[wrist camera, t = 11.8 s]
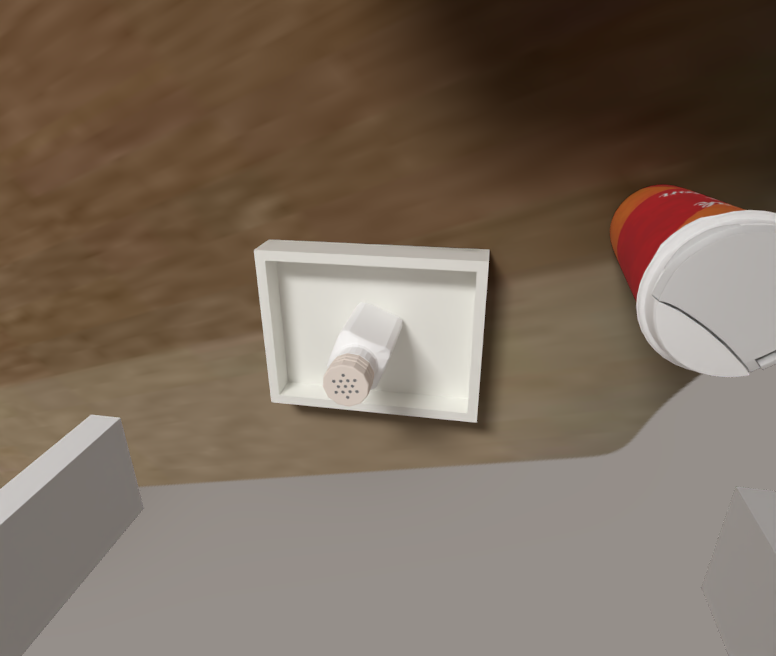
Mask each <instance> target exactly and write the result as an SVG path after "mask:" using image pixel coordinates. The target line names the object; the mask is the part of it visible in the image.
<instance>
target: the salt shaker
mask: <svg viewBox="0 0 776 656" xmlns="http://www.w3.org/2000/svg"><path fill="white" fill-rule="evenodd" d="M401 328H402V319H400V318H399V317H398V316H396V315H393V314H391V313H389V312H386V311H384V310H382V309H380V308H377V307H375V306H373V305H371V304H368V303H365V302H360V303H359V304H358V305H357V306H356V308H355V309H354V311H353V313H352V314H351V316H350V317H349V319H348V321H347V322H346V324H345V325H344V327H343V328H342V330H341V332H340V333H339V335H338V338H337V340H336V343H335V345H334V347H333V350H332V353H331V355H330V358H329V361H328V363H327V368H328V369H327V371H326V373H325V374H324V377H323V388H324V390H325V392H326V394H327V396H328V397H329V398H330V399H332V400H333V401H334V402H336V403H337V404H339V405H344V406H349V407H350V406H353V405H357V404H361V403H362V402H363V400H364V399H365V398H366V397H367V396H368V394H369V392H370V390H373V389H374V388H376V387H377V385H378V383H379V381H380V379H381V377H382V374H383V372H384V370H385V368H386V366H387V363H388V361H389V359H390V357H391V354H392V351H393V349H394V346H395V344H396V341H397V339H398V336H399V333H400V331H401Z"/></svg>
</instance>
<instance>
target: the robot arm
mask: <svg viewBox="0 0 776 656" xmlns="http://www.w3.org/2000/svg"><path fill="white" fill-rule="evenodd" d="M143 509H144V508H143V503H142V500H141V496H140V492H139V488H138V484H137V480H136V476H135V473H134V469H133V465H132V461H131V457H130V453H129V449H128V446H127V442H126V438H125V434H124V430H123V426H122V422H121V419H120V418H116V417H107V416H98V415H90V416H89V417H88V418H87V419H85V420H84V421H83V422H82V423H80V424H79V425H78V426H77V427H76V428H74V429H73V430H72V431H71V432H69V433H68V434H67V435H66V436H65V437H63V438H62V439H61V440H60V441H58V442H57V443H56V444H55V445H54V446H52V447H51V448H50V449H49V450H47V451H46V452H45V453H44V454H43V455H41V456H40V457H39V458H38V459H36V460H35V461H34V462H33V463H32V464H30V465H29V466H28V467H27V468H25V469H24V470H23V471H22V472H21V473H19V474H18V475H17V476H16V477H14V478H13V479H12V480H11V481H10V482H8V483H7V484H6V485H5V486H3V487H2V488H1V489H0V656H22V654H24V652H25V651H26V650H27V649H28V647H29V646H30V645H31V644H32V643H33V641H34V640H35V639H36V638H37V637H38V635H39V634H40V633H41V632H42V631H43V629H44V628H45V627H46V626H47V625H48V623H49V622H50V621H51V620H52V619H53V617H54V616H55V615H56V614H57V612H58V611H59V610H60V609H61V608H62V607H63V605H64V604H65V603H66V602H67V600H68V599H69V598H70V597H71V596H72V594H73V593H74V592H75V591H76V590H77V588H78V587H79V586H80V585H81V583H82V582H83V581H84V580H85V579H86V577H87V576H88V575H89V574H90V573H91V572H92V570H93V569H94V568H95V567H96V565H97V564H98V563H99V562H100V561H101V560H102V558H103V557H104V556H105V555H106V553H107V552H108V551H109V550H110V549H111V547H112V546H113V545H114V544H115V543H116V541H117V540H118V539H119V538H120V537H121V535H122V534H123V533H124V532H125V531H126V529H127V528H128V527H129V526H130V524H131V523H132V522H133V521H134V520H135V518H136V517H137V516H138V515H139V514H140V513H141V511H142V510H143ZM701 588H702V591H703V593H704V596H705V598H706V600H707V603H708V606H709V608H710V611H711V613H712V616H713V618H714V621H715V623H716V625H717V628H718V631H719V633H720V636H721V638H722V641H723V643H724V646H725V648H726V650H727V653H728V655H729V656H776V491H773V490H764V489H754V488H746V487H737V486H736V487H735V490H734V493H733V496H732V499H731V502H730V505H729V508H728V511H727V514H726V516H725V520H724V522H723V525H722V528H721V531H720V534H719V537H718V540H717V543H716V546H715V549H714V552H713V555H712V558H711V560H710V563H709V567H708V570H707V572H706V575H705V578H704V581H703V584H702V587H701Z"/></svg>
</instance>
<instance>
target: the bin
mask: <svg viewBox="0 0 776 656" xmlns="http://www.w3.org/2000/svg"><path fill="white" fill-rule="evenodd" d="M254 256H255V264H256V273H257V282H258V290H259V299H260V307H261V316H262V325H263V333H264V342H265V351H266V359H267V368H268V377H269V385H270V394H271V402H275V403H285V404H295V405H305V406H315V407H325V408H335V409H345V410H355V411H365V412H375V413H385V414H395V415H405V416H415V417H425V418H435V419H445V420H455V421H465V422H475V423H477V413H478V400H479V386H480V373H481V360H482V347H483V334H484V320H485V307H486V294H487V281H488V268H489V250H488V249H466V248H444V247H421V246H399V245H377V244H355V243H333V242H311V241H289V240H268V241H266V242H265V243H263V244H262V245H260V246H259V247H258V248H256V249H255V250H254ZM360 302H365V303H368V304H371V305H373V306H375V307H377V308H380V309H382V310H384V311H386V312H389V313H391V314H393V315H396V316H398V317H399V318H400V319H402V328H401V331H400V333H399V336H398V339H397V341H396V344H395V346H394V349H393V351H392V354H391V357H390V359H389V361H388V363H387V366H386V368H385V370H384V372H383V374H382V377H381V379H380V381H379V383H378V385H377V387H376V388H374V389H373V390H370V392H369V394H368V396H367V397H366V398H365V399H364V400H363V402H362V403H361V404H357V405H353V406H350V407H349V406H344V405H339V404H337V403H336V402H334V401H333V400H332V399H330V398H329V397H328V396H327V394H326V392H325V390H324V388H323V377H324V374H325V373H326V371H327V369H328V368H327V363H328V361H329V358H330V355H331V353H332V350H333V347H334V345H335V343H336V340H337V338H338V335H339V333H340V332H341V330H342V328H343V327H344V325H345V324H346V322H347V321H348V319H349V317H350V316H351V314H352V313H353V311H354V309H355V308H356V306H357V305H358V304H359V303H360Z"/></svg>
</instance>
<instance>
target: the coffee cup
mask: <svg viewBox="0 0 776 656" xmlns="http://www.w3.org/2000/svg"><path fill="white" fill-rule="evenodd" d="M610 239H611V243H612V247H613V250H614V252H615V255H616V257H617V260H618V262H619V264H620V267H621V269H622V271H623V274H624V276H625V278H626V280H627V283H628V285H629V287H630V289H631V291H632V294H633V296H634V298H635V300H636V302H637V303H636V310H637V318H638V322H639V325H640V328H641V331H642V333H643V334H644V336H645V338H646V340H647V341H648V343H649V344H650V345H651V346H652V348H653V349H654V350H655V351H656V352H657V353H659V354H660V355H661V356H662V357H663V358H665V359H667V360H668V361H670V362H672V363H673V364H675V365H678V366H680V367H683V368H685V369H688V370H692V371H696V372H698V373H702V374H706V375H710V376H717V377H742V376H749V375H750V374H749V373H748V372H749V371H750V372H753V371H755V370H757V369H760V368H762V370H764V369H766V368H768V367H771V366H773V365H775V364H776V213H773V212H768V211H758V210H744V209H741V208H738V207H736V206H733V205H730V204H727V203H725V202H722V201H719V200H716V199H714V198H711V197H708V196H705V195H702V194H699V193H696V192H694V191H691V190H688V189H684V188H681V187H677V186H672V185H653V186H649V187H645V188H643V189H640V190H638V191H636V192H635V193H633V194H632V195H630V196H629V197H628V198H626V199H625V200H624V201H623V202H622V203H621V205H620V206H619V207H618V209H617V210H616V212H615V214H614V216H613V219H612V222H611V226H610Z"/></svg>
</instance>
